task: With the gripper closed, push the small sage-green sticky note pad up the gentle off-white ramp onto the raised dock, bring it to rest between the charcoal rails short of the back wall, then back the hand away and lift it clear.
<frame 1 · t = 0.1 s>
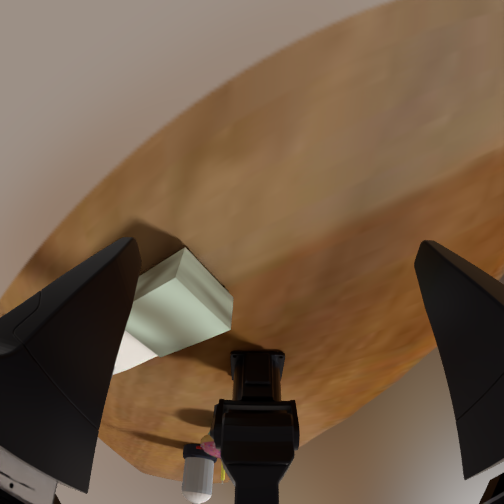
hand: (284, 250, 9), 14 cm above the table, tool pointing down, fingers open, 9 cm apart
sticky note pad: (176, 288, 29), on the table
cupcake: (225, 422, 49), on the table
dock: (81, 340, 36), on the table
humidifier: (200, 448, 60), on the table
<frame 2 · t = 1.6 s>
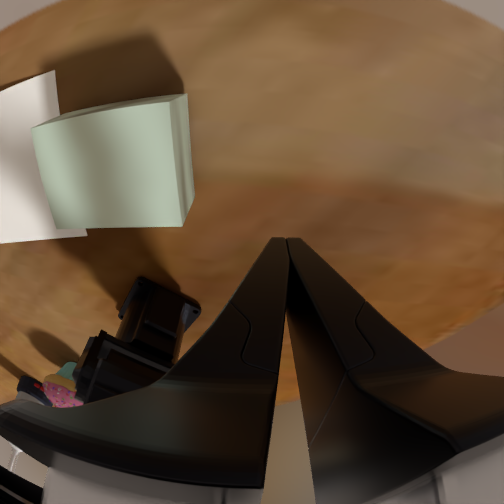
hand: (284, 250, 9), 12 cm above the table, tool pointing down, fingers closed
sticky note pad: (129, 148, 19), on the table
cupcake: (79, 369, 36), on the table
humidifier: (38, 387, 43), on the table
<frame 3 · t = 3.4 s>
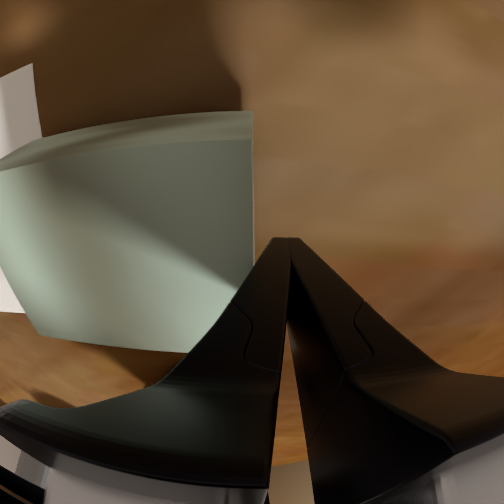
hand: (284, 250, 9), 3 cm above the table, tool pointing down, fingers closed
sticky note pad: (143, 200, 12), on the table, touching gripper
humidifier: (46, 432, 36), on the table
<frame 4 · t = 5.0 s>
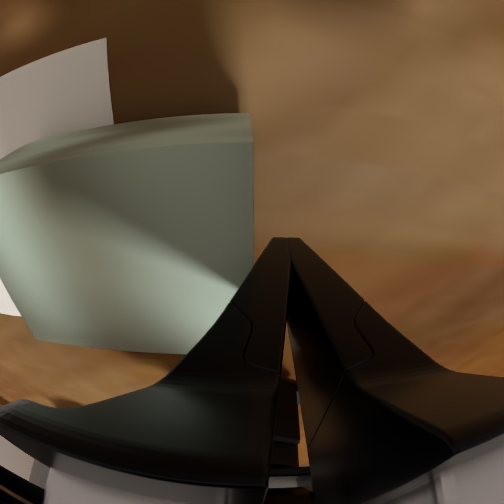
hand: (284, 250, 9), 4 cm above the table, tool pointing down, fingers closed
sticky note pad: (139, 202, 12), on the table, touching dock, gripper
humidifier: (60, 437, 36), on the table
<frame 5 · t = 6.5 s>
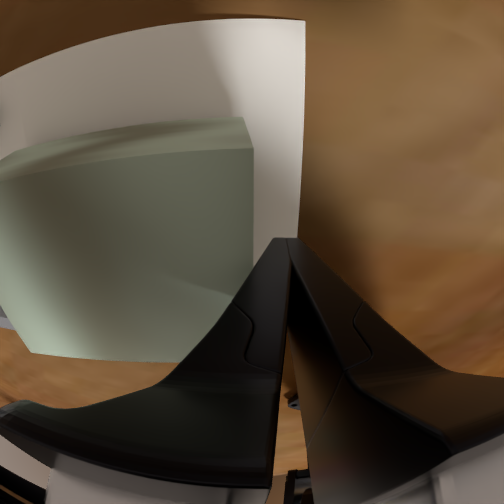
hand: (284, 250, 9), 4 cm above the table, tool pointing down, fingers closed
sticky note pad: (130, 209, 11), point 1 cm above the table, tilted 5°, touching gripper
dock: (18, 214, 12), on the table
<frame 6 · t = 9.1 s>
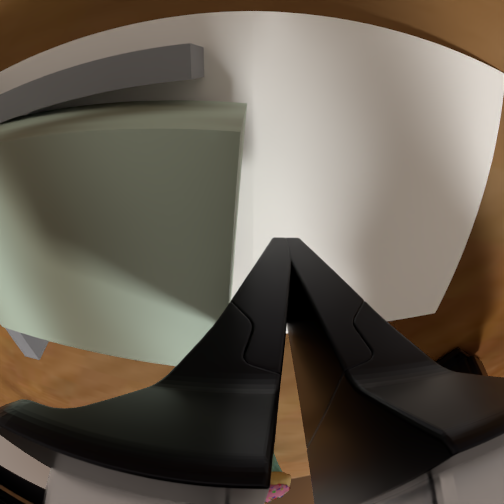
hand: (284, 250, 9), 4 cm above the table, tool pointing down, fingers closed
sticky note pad: (120, 191, 11), point 1 cm above the table, touching dock, gripper
cupcake: (251, 447, 29), on the table
dock: (177, 199, 12), on the table
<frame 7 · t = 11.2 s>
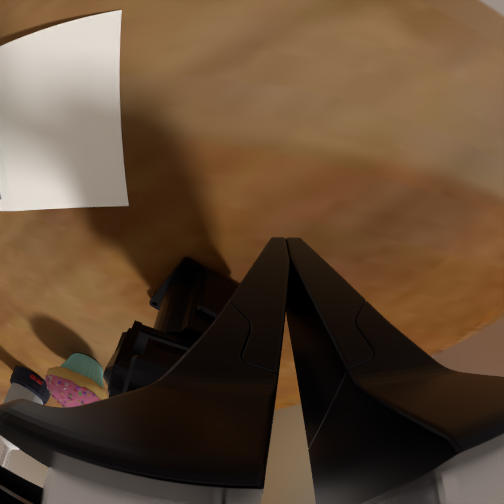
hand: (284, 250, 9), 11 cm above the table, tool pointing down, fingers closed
cupcake: (86, 361, 34), on the table
humidifier: (33, 379, 40), on the table
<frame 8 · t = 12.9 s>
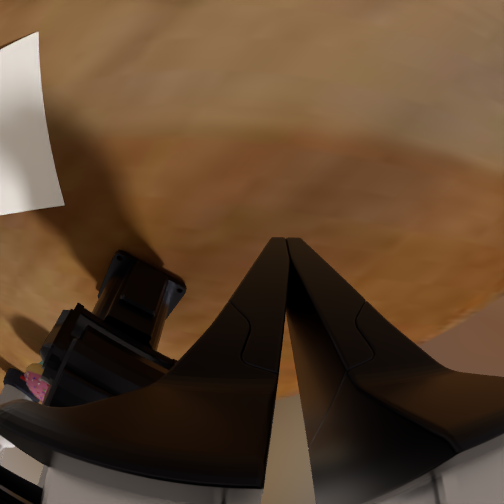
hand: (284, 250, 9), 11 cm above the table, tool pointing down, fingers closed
cupcake: (63, 359, 34), on the table
humidifier: (25, 380, 41), on the table
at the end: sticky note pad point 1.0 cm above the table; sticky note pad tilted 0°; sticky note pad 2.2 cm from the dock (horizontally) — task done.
